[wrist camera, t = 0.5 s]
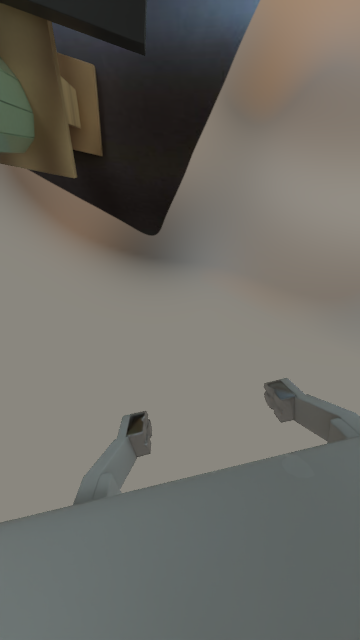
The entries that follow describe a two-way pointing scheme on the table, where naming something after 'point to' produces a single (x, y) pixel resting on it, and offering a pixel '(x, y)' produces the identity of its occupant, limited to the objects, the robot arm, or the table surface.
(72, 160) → the birch stand
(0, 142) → the green cup
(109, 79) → the table surface
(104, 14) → the black bar
